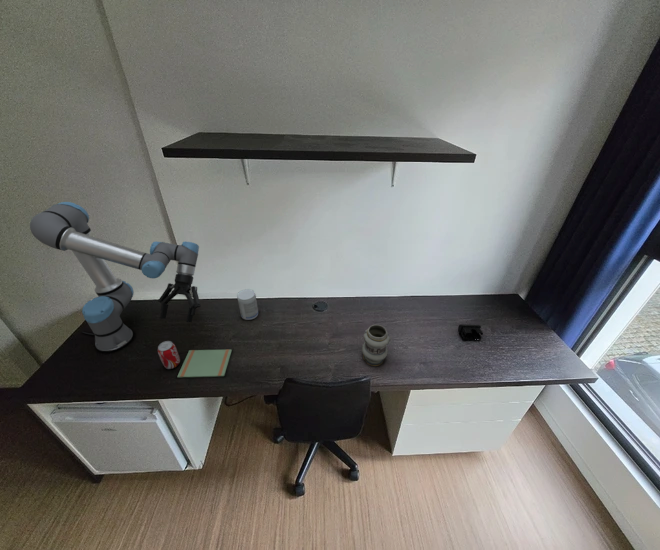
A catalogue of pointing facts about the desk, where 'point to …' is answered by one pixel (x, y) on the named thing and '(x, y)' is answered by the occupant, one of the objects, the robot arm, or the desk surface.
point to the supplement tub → (247, 304)
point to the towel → (205, 363)
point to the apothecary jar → (375, 345)
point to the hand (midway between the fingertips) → (175, 320)
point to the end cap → (469, 332)
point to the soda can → (168, 354)
